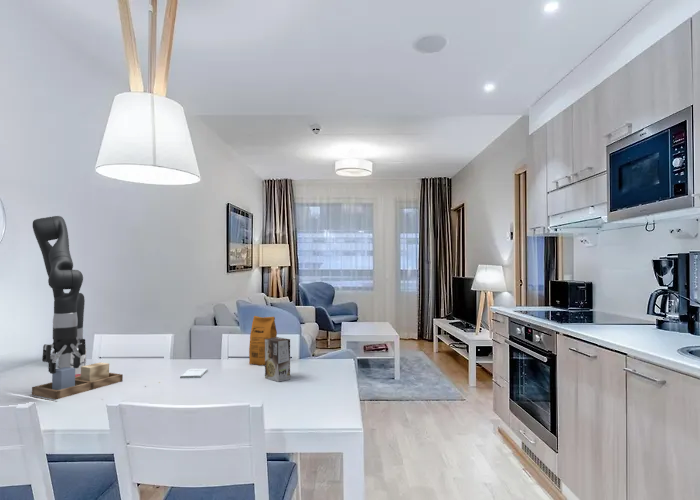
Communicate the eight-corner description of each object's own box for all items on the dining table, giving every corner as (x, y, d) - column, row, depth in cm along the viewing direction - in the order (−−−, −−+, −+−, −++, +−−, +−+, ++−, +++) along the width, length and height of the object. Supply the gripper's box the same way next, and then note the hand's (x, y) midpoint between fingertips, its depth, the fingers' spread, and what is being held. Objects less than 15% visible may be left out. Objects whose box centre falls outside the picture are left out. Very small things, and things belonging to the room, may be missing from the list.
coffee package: (256, 360, 217) (256, 314, 217) (279, 362, 213) (279, 315, 213) (245, 364, 207) (245, 316, 208) (269, 366, 203) (269, 317, 204)
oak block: (100, 380, 176) (100, 362, 176) (108, 381, 174) (109, 363, 174) (80, 385, 169) (80, 366, 169) (89, 386, 167) (89, 367, 167)
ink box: (84, 380, 179) (84, 350, 179) (69, 381, 177) (70, 351, 177) (86, 375, 187) (86, 347, 187) (72, 376, 184) (72, 348, 185)
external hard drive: (179, 379, 182) (188, 372, 195) (200, 379, 183) (207, 371, 195) (179, 375, 182) (188, 368, 195) (200, 375, 183) (207, 368, 195)
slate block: (65, 388, 164) (66, 366, 164) (74, 390, 161) (75, 368, 162) (51, 392, 159) (52, 369, 159) (61, 394, 157) (61, 371, 157)
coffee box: (290, 379, 181) (291, 339, 181) (278, 382, 176) (278, 341, 177) (276, 375, 187) (277, 336, 188) (264, 378, 182) (264, 338, 183)
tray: (99, 379, 180) (99, 371, 180) (122, 383, 175) (122, 374, 175) (31, 396, 157) (32, 387, 157) (56, 401, 151) (56, 391, 151)
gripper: (77, 322, 169) (76, 365, 169) (38, 327, 156) (37, 374, 156) (90, 323, 166) (90, 367, 166) (52, 328, 153) (51, 376, 153)
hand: (64, 370), depth 161 cm, fingers open, 8 cm apart
